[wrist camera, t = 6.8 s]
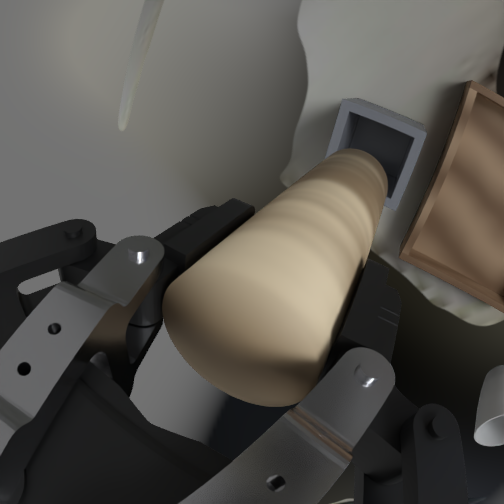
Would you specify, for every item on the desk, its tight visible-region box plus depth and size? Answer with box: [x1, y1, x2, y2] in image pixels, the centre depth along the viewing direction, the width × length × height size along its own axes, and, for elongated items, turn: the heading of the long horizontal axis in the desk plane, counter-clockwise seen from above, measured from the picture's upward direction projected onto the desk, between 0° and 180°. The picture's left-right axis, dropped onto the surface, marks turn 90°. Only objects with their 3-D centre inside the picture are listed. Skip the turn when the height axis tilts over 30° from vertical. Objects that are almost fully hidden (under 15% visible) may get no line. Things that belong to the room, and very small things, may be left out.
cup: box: [474, 365, 504, 446], centre depth 30 cm, size 8×8×10 cm
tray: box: [399, 80, 504, 313], centre depth 25 cm, size 20×16×3 cm
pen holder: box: [324, 98, 427, 211], centre depth 27 cm, size 7×7×8 cm
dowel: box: [162, 148, 388, 407], centre depth 12 cm, size 4×4×13 cm
